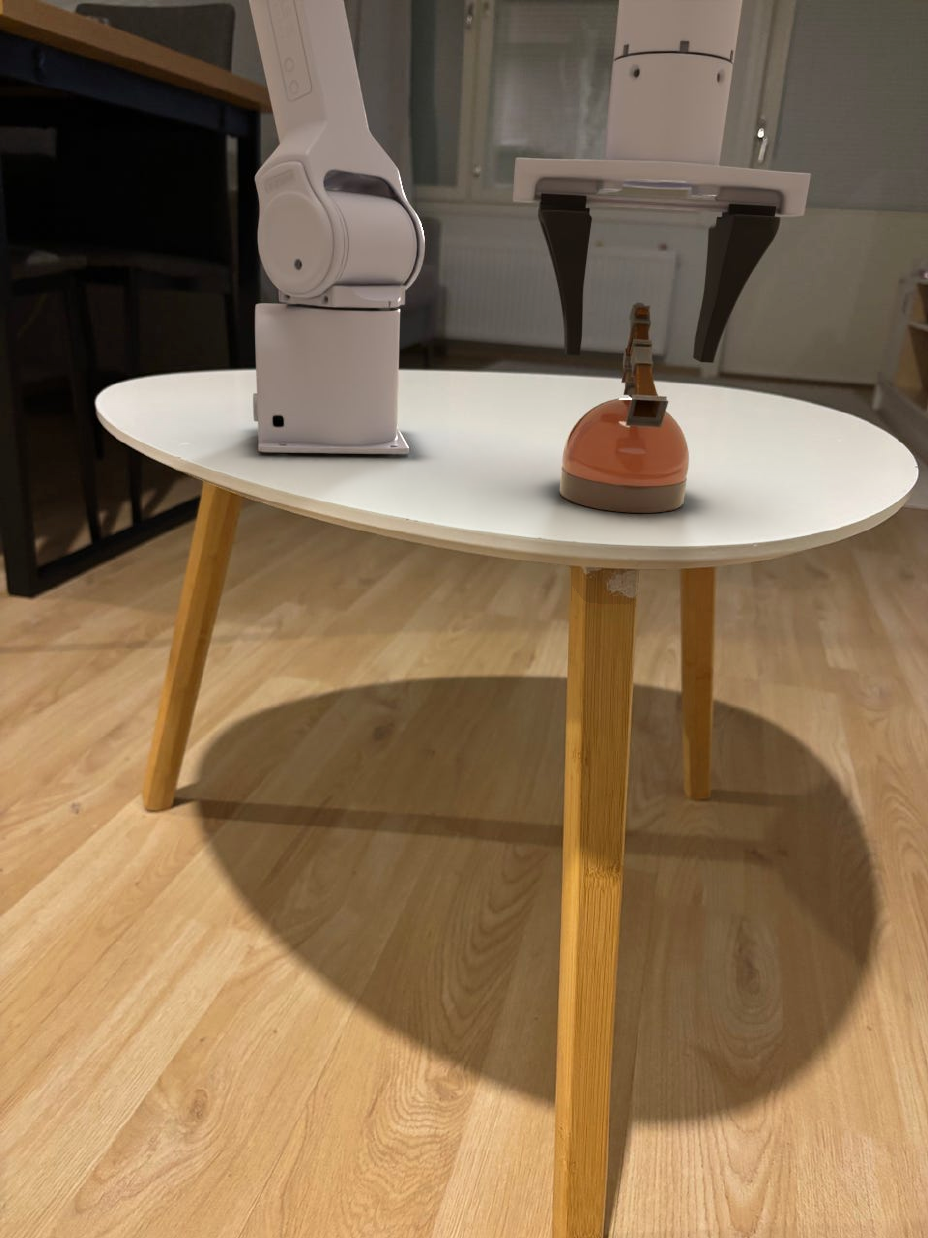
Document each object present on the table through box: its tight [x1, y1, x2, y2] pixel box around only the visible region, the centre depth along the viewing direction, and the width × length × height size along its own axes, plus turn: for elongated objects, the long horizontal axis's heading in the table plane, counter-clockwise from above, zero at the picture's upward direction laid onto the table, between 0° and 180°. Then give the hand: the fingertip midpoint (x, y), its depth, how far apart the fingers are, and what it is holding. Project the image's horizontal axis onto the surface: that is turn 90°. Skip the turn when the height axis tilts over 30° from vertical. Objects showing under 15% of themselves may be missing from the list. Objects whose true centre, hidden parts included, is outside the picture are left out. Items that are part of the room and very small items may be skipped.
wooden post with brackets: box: [621, 302, 669, 428], centre depth 48 cm, size 2×8×4 cm
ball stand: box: [559, 397, 690, 514], centre depth 51 cm, size 7×7×7 cm
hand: (637, 356), depth 49 cm, fingers open, 6 cm apart
